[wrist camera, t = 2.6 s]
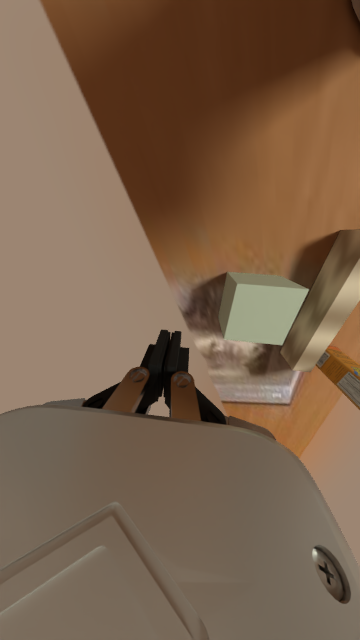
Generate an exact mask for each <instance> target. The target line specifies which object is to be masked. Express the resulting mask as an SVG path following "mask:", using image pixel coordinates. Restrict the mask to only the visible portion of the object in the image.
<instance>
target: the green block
mask: <svg viewBox="0 0 360 640" xmlns="http://www.w3.org/2000/svg"><path fill="white" fill-rule="evenodd" d="M308 291H309V289H307V288H305V287H303V286H301V285H299V284H297V283H295V282H292V281H290V280H288V279H286V278H284V277H282V276H275V275H262V274H248V273H235V272H227V276H226V281H225V286H224V290H223V295H222V300H221V305H220V310H219V315H218V319H219V323H220V327H221V330H222V334H223V338H224V339H225V340H235V341H245V342H254V343H264V344H274V345H283V343H284V340H285V338H286V336H287V334H288V332H289V330H290V328H291V326H292V324H293V322H294V320H295V318H296V316H297V314H298V312H299V310H300V307H301V305H302V303H303V301H304V299H305V297H306V295H307V293H308Z"/></svg>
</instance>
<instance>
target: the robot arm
mask: <svg viewBox="0 0 360 640" xmlns="http://www.w3.org/2000/svg"><path fill="white" fill-rule="evenodd" d="M352 4H353V8H354V11H355V13H356V15H357V17H358V19H359V21H360V0H352ZM180 342H181V332H180V331H175V333H172V336H171V339H170V332H168V330H161V331H160V334H159V337H158V340H157V342H156V345H153V344H150V345H149V347H148V349H147V351H146V354H145V356H144V358H143V360H142V363H141V365H140V367H136V368H133V369H131V370H130V371H129V372H128V373H127V374H126V376H125V377H124V378H123V380H122V381H121V382H120V383H118V384H116V385H114V386H112V387H110V388H108V389H106V390H104V391H102V392H100V393H98V394H96V395H94V396H92V397H91V398H89V399H88V400H85V398H81V399H71V400H61V401H51V402H47V403H45V404H43V405H35V406H27V407H23V408H19V409H15V410H11V411H8V412H5V413H3V414H0V640H360V567H359V565H358V563H357V561H356V559H355V557H354V555H353V553H352V551H351V549H350V547H349V545H348V543H347V541H346V539H345V537H344V535H343V533H342V531H341V529H340V527H339V526H338V523H337V522H336V519H335V517H334V516H333V514H332V512H331V510H330V508H329V506H328V504H327V502H326V501H325V499H324V497H323V495H322V493H321V491H320V490H319V488H318V486H317V484H316V483H315V481H314V480H313V478H312V476H311V475H310V473H309V471H308V470H307V469H306V467H305V466H304V464H303V463H302V462H301V460H300V459H299V458H298V457H297V456H296V455H295V454H294V453H293V452H292V451H291V450H289V449H288V448H287V447H285V446H284V445H282V444H281V443H279V442H277V441H276V439H275V437H274V436H273V434H272V433H271V432H270V431H268V430H267V429H265V428H263V427H261V426H258V425H255V424H252V423H249V422H246V421H244V420H241V419H238V418H235V417H232V416H229V417H227V416H224V415H223V413H222V412H221V411H220V410H219V409H218V408H217V407H216V406H215V405H214V404H213V403H212V402H210V401H209V400H208V399H207V398H206V397H205V396H204V395H203V394H202V393H201V392H200V391H199V390H198V389H197V388H196V387H195V384H194V379H193V377H192V376H191V375H190V374H189V373H188V361H189V348H182V347H180V344H181V343H180ZM163 387H164V397H165V404H166V405H167V406H168V407H169V409H170V411H169V412H170V413H169V414H170V416H169V417H162V416H154V415H148V413H149V411H150V408H151V405H152V404H153V403H154V402H156V401H158V398H159V397H161V396H162V392H163Z"/></svg>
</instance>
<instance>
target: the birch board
mask: <svg viewBox="0 0 360 640" xmlns="http://www.w3.org/2000/svg"><path fill="white" fill-rule="evenodd" d="M359 300H360V229H356V230H340V232H339V234H338V236H337V238H336V240H335V242H334V244H333V246H332V248H331V250H330V252H329V254H328V256H327V258H326V260H325V262H324V264H323V266H322V268H321V271H320V273H319V275H318V277H317V279H316V281H315V283H314V285H313V287H312V289H311V291H310V293H309V295H308V297H307V299H306V301H305V303H304V305H303V307H302V309H301V311H300V313H299V315H298V317H297V319H296V321H295V323H294V325H293V327H292V329H291V331H290V333H289V335H288V337H287V339H286V341H285V343H284V345H283V347H282V349H281V351H280V353H281V354H282V356H283V357H284V359H285V360H286V361H287V363H288V364H289V366H290V367H291V368H292V370H295V371H304V372H311V371H312V369H313V368H314V366H315V365H316V363H317V362H318V360H319V359H320V357H321V356H322V354H323V353H324V352H325V350H326V349H327V347H328V346H329V344H330V343H331V341H332V340H333V338H334V337H335V335H336V334H337V333H338V331H339V330H340V328H341V327H342V325H343V324H344V322H345V321H346V319H347V318H348V316H349V315H350V313H351V312H352V311H353V309H354V308H355V306H356V305H357V303H358V302H359Z"/></svg>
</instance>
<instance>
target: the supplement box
mask: <svg viewBox="0 0 360 640" xmlns="http://www.w3.org/2000/svg"><path fill="white" fill-rule="evenodd" d="M316 366H317V367H318V368H319V369H320V370H321V371H322V372H323V373H324V374H325V375H326V376H327V377H328V378H329V379H330V380H331V381H332V382H333V383H334V384H335V385H336V386H337V387H338V388H339V389H340V390H341V391H342V392H343V393H344V395H345V396H347V398H348V399H349V400H350V401H351V402H352V403H353V404H354V405H355V406H356V407H357V408H358V409H359V410H360V365H359V364H358V363H357V362H355V361H354V360H353V359H351V358H350V357H349V356H347V355H346V354H345V353H343V352H342V351H341V350H340V349H338V348H337V347H332V346H328V347H327V349H326V350H325V352H324V353H323V354H322V356H321V357H320V359H319V360H318V362H317V363H316Z"/></svg>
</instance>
